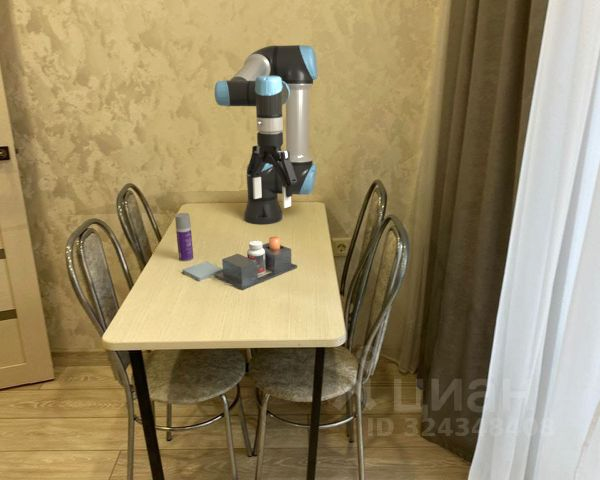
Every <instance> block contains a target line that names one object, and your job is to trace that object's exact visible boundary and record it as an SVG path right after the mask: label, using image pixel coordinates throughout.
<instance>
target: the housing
mask: <svg viewBox="0 0 600 480" xmlns="http://www.w3.org/2000/svg"><path fill="white" fill-rule="evenodd" d="M262 248H263V249H264V250H265V270H267V271H269V272H268V273H266V274H262V275H260V276H259V275H258V270H257V261H255V260H252V259H250V258H247V256H245V255H242V254H241V253H236V254H233V255H230V256H227V257H224V258H222V259H221V261H222V262H221V264H222V269H223V272H221V273H218V274H215V276H214V277H215V278H216V279H219V280H221V281H222V282H225V283H226V284H229V285H231V286H232V287H233V286H234V287H236V288H237V289H240V290H242V291H244V290H247V289H249V288H251V287H255V286H257V285H258V284H261V283H264V282H266V281H269V280H271V279H274V278H276V277H278V276H280V275H281V276H282V275H283V274H285V273H289V272H290V271H293V270H296V269H298V265H297V264H294V263H292V248H290V247H286V246H284V245H281V244H280V249H279V250H276V251H272V250H270V249H269V242H268V243H267V242H266V243H264V244H262Z"/></svg>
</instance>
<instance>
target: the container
mask: <svg viewBox="0 0 600 480" xmlns="http://www.w3.org/2000/svg"><path fill="white" fill-rule="evenodd" d="M174 216H175V219H174V221H175V233H176V242H177V253H178V260H179V261H180V262H191V261H192V260H194V249H193V247H194V246H193V239H192V238H193V237H192V235H193V234H192V225H191V218H190V217H191V216H190V214H189V213H187V212H181V213H177V214H175V215H174Z"/></svg>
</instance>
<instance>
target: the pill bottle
mask: <svg viewBox="0 0 600 480" xmlns="http://www.w3.org/2000/svg"><path fill="white" fill-rule="evenodd" d="M248 244H249V246H248V247H249V249H248V250H247V252H246V255H247V256H246V257H247V258H250V259H252V260H255V261H257V270H258V276H263V275H265V273H266V270H267V269H265V250H264V249H263V248H262V245H263V241H260V240H253V241H250V242H249V243H248Z"/></svg>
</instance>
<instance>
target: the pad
mask: <svg viewBox="0 0 600 480" xmlns="http://www.w3.org/2000/svg"><path fill="white" fill-rule="evenodd" d="M221 272H223V267H219V266H218V265H217V264H213V263H211V262H209V261H207V260H206V261H203V262H200V263H196V264H195V265H192V266H188V267H185V268H183V269H182V273H183V274H185V275H186V276H189V277H190V278H193V279H195V280H196V281H199V282H201V281H203V280H206V279H209V278H211V277H215V274H218V273H221Z"/></svg>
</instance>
